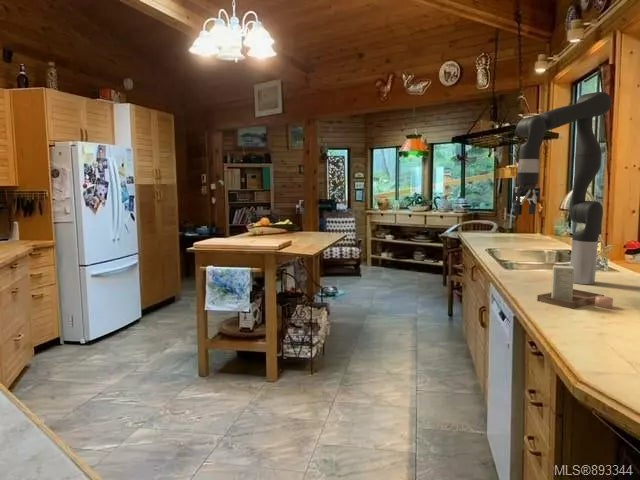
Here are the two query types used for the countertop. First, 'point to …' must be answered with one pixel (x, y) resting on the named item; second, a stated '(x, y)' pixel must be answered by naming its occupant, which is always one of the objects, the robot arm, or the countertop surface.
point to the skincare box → (562, 282)
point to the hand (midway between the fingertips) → (525, 214)
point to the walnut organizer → (578, 299)
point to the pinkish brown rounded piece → (603, 302)
